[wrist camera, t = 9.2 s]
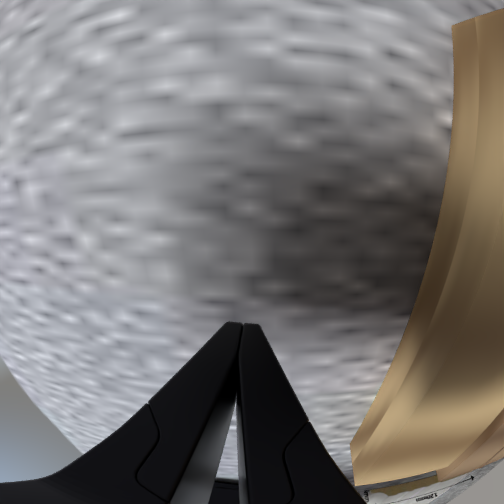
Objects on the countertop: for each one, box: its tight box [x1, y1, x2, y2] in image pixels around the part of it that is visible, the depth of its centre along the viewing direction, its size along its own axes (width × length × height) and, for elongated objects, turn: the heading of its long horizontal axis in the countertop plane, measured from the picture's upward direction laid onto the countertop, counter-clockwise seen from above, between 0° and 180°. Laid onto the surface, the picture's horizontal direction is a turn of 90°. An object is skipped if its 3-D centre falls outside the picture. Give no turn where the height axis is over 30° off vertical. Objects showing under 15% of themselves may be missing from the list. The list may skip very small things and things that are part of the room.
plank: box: [350, 8, 504, 486], centre depth 7 cm, size 18×6×3 cm, turn 179°
